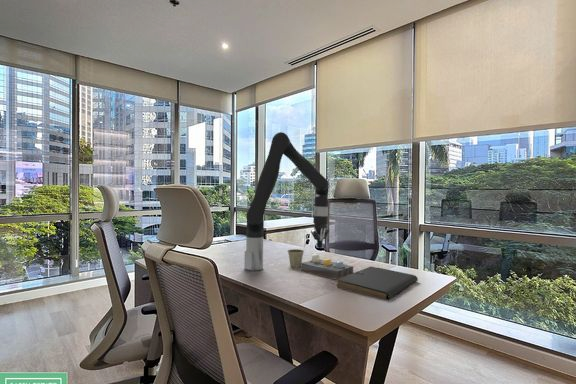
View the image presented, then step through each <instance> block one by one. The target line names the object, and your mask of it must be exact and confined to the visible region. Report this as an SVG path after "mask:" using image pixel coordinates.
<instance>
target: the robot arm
mask: <svg viewBox="0 0 576 384" xmlns="http://www.w3.org/2000/svg"><path fill="white" fill-rule="evenodd" d="M283 155H284V156H285V157H286V158H288V160H290V161H291V163H293V165H294V166H295V168H297V170H298V171H299V172H300V173H301V174H302V175H304V177H305V178H306V179H308V180H309V182H310V183H311V184H312V186H313V187H314V188H315V196H314V207H313V219H312V220H313V224H314V225H313V230H310V233H311V235H312V237H313V239H314V240H316V247H317V249H322V248H323V241H324V240H326V238H327V236H328V234H329V232H330V229H327V225H328V224H329V221H328V220H329V208H328V206H329V197H328V196H329V190H330V189H329V188H330V187H329V185H330V183H329V181H328V179H327V178H325V176H323V174H321V173H320V171H318V169H317V168H316V167H315V166H314V164H312V162H310V161H309V160H308V159H307V158H306V157H305V156H303V154H301V153H300V152H299V151H298V150H297V149H296V148H295V147H294V145H293V143H292V142H291V140H290V138H289V136H288V134H286V133H285V132H283V131H281V132H277V133H276V134H274V135H273V137H272V140H271V144H270V148H269V152H268V155H267V156H266V157H267V158H266V159H265V162H264V163H263V164H264V165H263V167H262V170H261V172H260V176H259V177H258V178H259V179H258V181H257V185H256V189H255V194H254V198H253V200H252V202H251V204H250V206H249V209H248V210H247V211H246V213H245V214H246V216H245V218H246V234H245V239H246V241H245V242H246V243H245V251H244V264H243V265H244V269H245V270H248V271H252V272H253V271H261V270H263V269H264V233H265V232H264V230H265V229H264V227H265V226H264V225H265V224H264V223H265V216H264V215H265V211H266V208H267V203H268V202H269V199H270V197H271V195H272V193H273V191H274V188H275V185H276V183H277V181H278V177H279V173H280V170H281V169H280V168H281V162H282V161H281V160H282V158H283Z"/></svg>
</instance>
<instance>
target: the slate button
mask: <svg viewBox="0 0 576 384" xmlns="http://www.w3.org/2000/svg"><path fill="white" fill-rule="evenodd" d="M343 264H344V261H341V260H340V261H339V260H337V261H335V268H338V269H342V268H343Z"/></svg>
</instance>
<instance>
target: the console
mask: <svg viewBox="0 0 576 384" xmlns="http://www.w3.org/2000/svg"><path fill="white" fill-rule="evenodd" d="M335 262H336V261H335ZM335 262H334V261H331V266H324V265H323V259H320V258H319V263H317V264H315V263H312V259H311V260H307V261H305V262H302V263H301V267H300V268H301V270H300V271H302V272H305V273H309V274H313V275H318V276H321V277H327V278H331V279H334V280H337V279H340V278H342V277H345V276H348V275H350V274H353V273H354V266H353V265H350V264H349V265H348V264H345V263H343V268H342V269H338V268H335Z"/></svg>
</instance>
